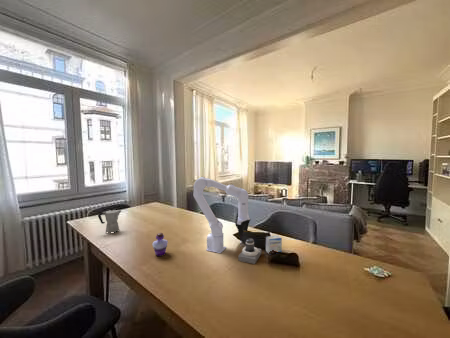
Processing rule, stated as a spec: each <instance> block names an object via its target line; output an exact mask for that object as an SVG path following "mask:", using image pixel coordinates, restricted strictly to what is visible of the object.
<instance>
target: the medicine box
mask: <svg viewBox="0 0 450 338" xmlns="http://www.w3.org/2000/svg"><path fill="white" fill-rule="evenodd" d="M282 243H283V240H282V237H281V236H280V235H272V236H271V235H270V236H265V252H266V253H268V254H269V252H270V251H272V250H274V251H278V252H281V253H282V246H283V244H282Z"/></svg>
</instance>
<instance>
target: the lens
mask: <svg viewBox="0 0 450 338" xmlns="http://www.w3.org/2000/svg"><path fill="white" fill-rule="evenodd" d="M245 247H246V252H254V247H255V240H254V239H253V238H252V237H251V238H250V237H249V238H246V239H245Z"/></svg>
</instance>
